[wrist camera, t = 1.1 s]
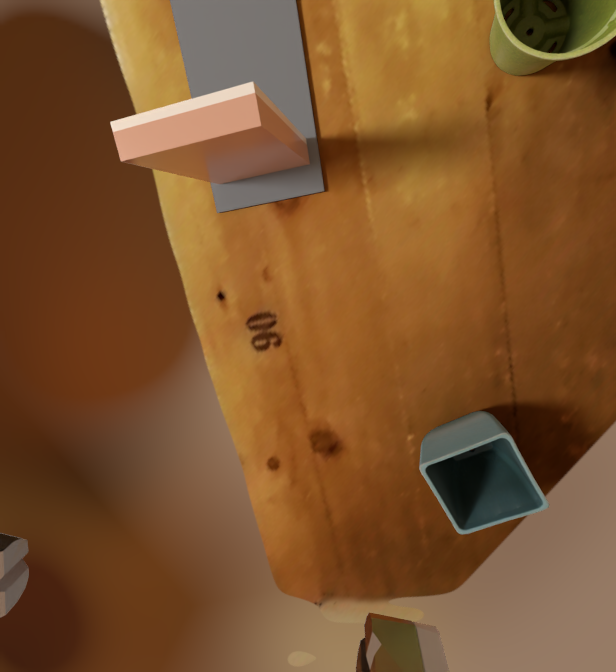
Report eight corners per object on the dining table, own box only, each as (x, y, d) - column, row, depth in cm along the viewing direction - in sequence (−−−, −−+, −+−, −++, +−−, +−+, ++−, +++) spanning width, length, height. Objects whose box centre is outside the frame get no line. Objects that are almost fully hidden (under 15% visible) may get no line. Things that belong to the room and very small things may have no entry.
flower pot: (410, 420, 44) (417, 467, 36) (483, 389, 41) (509, 431, 33) (445, 478, 45) (459, 537, 37) (518, 452, 43) (551, 508, 34)
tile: (309, 164, 38) (261, 125, 23) (219, 184, 40) (121, 161, 25) (305, 138, 37) (252, 81, 22) (214, 160, 39) (110, 122, 24)
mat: (324, 191, 39) (324, 191, 38) (218, 212, 41) (217, 212, 41) (285, -71, 33) (284, -74, 33) (165, -26, 36) (163, -29, 35)
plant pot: (529, 121, 34) (575, 89, 26) (444, 58, 34) (464, 6, 25) (616, 11, 30) (701, -66, 22) (523, -58, 30) (574, -161, 22)
